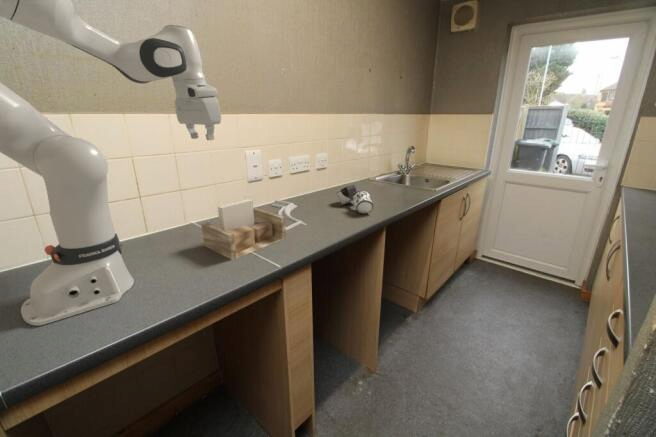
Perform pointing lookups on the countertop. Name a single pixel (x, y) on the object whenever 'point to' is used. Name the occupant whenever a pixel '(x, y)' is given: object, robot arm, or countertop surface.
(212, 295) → the countertop surface
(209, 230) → the offcut rack
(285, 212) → the molding
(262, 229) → the walnut offcut
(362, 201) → the patterned dumbbell
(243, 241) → the oak offcut
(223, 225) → the white square panel
